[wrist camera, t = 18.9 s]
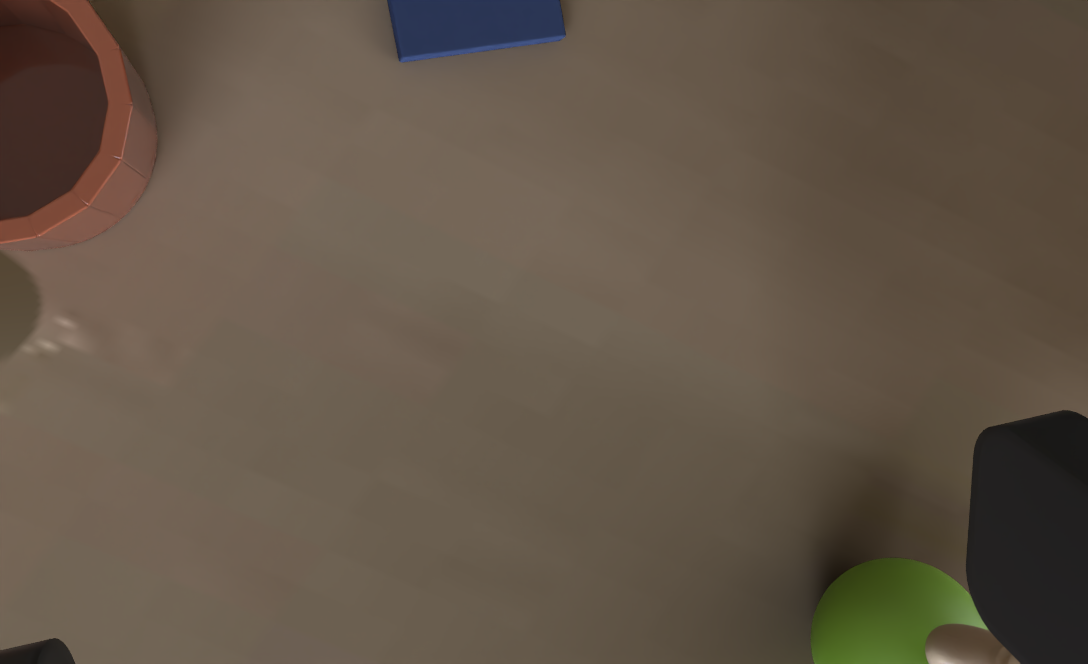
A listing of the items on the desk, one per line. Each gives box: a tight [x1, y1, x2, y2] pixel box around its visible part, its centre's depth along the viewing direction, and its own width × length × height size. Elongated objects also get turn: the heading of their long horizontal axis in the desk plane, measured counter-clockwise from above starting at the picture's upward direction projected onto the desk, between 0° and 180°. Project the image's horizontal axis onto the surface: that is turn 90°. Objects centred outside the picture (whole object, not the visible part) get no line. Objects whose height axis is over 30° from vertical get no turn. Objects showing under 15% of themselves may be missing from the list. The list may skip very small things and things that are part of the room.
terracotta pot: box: [0, 0, 157, 251], centre depth 24 cm, size 6×6×6 cm
